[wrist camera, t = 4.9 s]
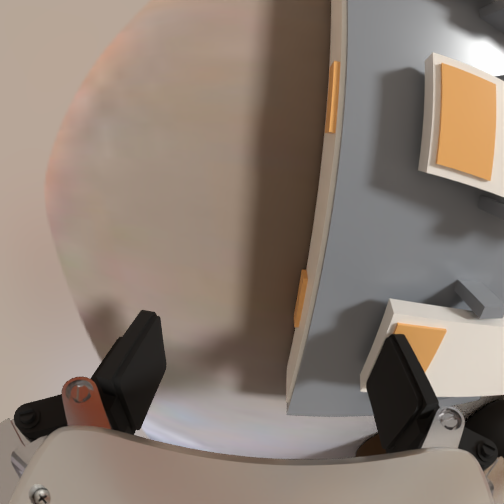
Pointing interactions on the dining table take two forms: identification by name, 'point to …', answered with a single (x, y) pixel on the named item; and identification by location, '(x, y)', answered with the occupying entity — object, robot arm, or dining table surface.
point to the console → (390, 197)
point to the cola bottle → (490, 424)
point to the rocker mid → (463, 124)
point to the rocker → (446, 347)
